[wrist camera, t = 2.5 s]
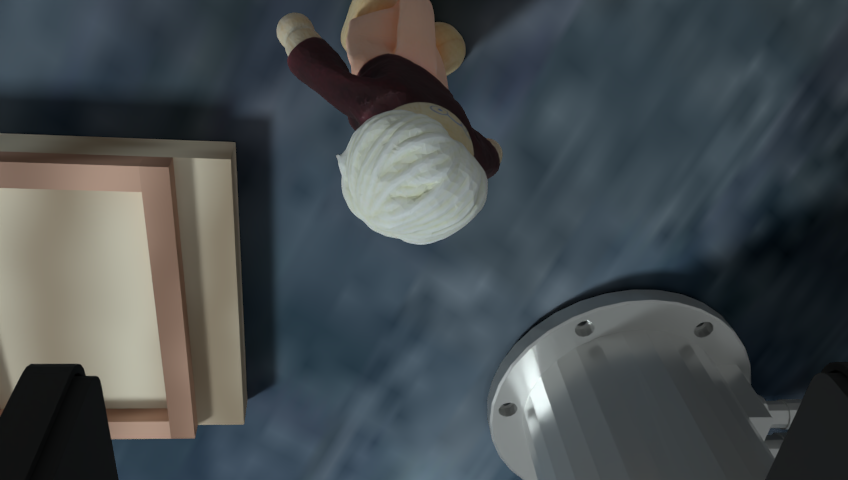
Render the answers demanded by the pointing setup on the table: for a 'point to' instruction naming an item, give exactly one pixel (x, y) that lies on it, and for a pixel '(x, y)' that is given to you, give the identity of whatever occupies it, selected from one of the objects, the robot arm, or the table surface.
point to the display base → (126, 275)
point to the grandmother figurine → (398, 117)
